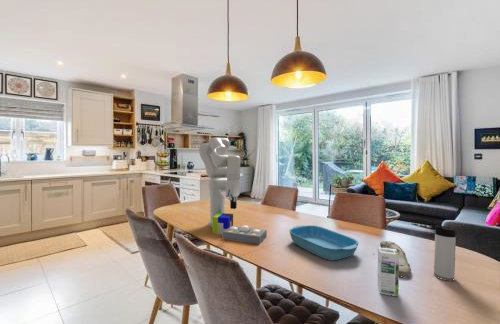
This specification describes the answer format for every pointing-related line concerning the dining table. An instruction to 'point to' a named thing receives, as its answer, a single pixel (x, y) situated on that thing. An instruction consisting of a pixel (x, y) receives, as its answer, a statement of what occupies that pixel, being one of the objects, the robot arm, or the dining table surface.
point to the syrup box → (388, 271)
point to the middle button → (245, 228)
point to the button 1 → (233, 228)
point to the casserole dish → (323, 242)
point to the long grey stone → (403, 263)
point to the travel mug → (444, 252)
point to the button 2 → (256, 231)
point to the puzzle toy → (222, 222)
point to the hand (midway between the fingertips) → (233, 208)
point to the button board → (245, 235)
